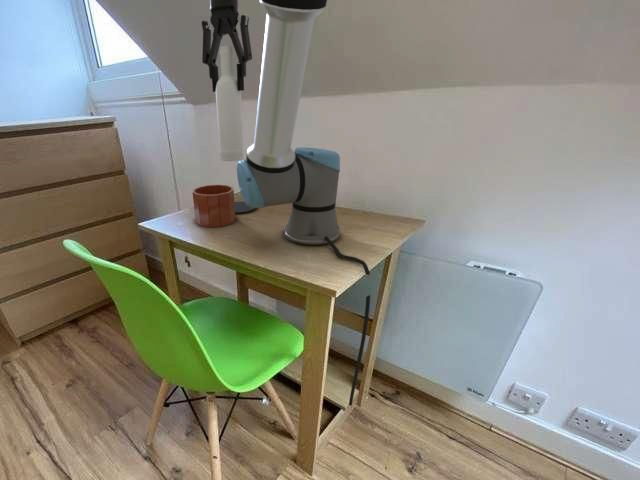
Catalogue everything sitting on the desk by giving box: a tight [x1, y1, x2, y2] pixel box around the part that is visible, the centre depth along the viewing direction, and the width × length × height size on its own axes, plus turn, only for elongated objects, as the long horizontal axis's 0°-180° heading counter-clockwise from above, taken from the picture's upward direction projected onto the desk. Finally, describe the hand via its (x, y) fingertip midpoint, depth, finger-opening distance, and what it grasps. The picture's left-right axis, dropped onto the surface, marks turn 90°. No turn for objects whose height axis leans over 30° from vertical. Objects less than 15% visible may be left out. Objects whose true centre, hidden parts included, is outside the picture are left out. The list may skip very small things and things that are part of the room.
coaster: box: [234, 201, 257, 215], centre depth 123 cm, size 13×13×1 cm
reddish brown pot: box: [191, 184, 236, 228], centre depth 111 cm, size 13×13×10 cm
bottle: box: [215, 45, 245, 162], centre depth 104 cm, size 8×8×30 cm
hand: (228, 91), depth 102 cm, fingers closed on bottle, 8 cm apart
